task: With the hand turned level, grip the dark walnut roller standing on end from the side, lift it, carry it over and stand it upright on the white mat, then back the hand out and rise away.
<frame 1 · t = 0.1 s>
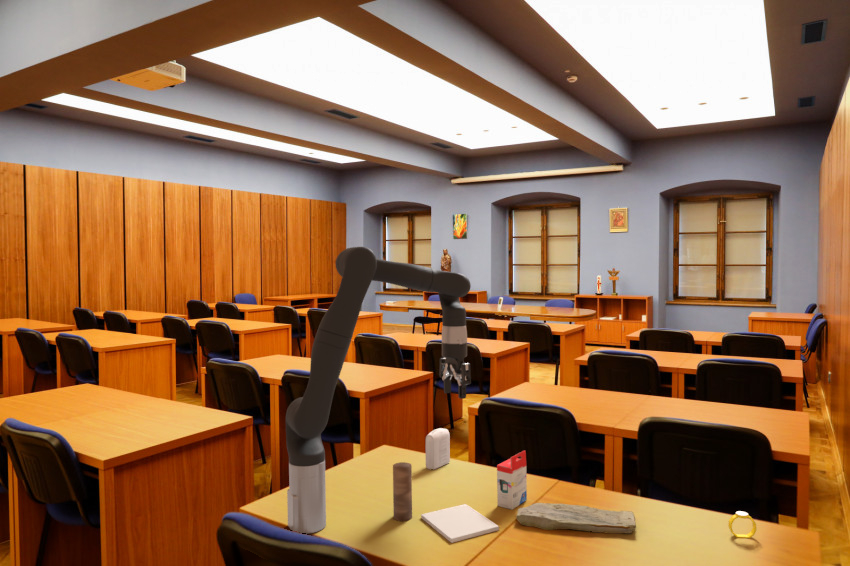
hand: (454, 395, 169), 29 cm above the table, tool pointing down, fingers open, 8 cm apart
gold ring: (742, 537, 141), on the table
stone slab: (575, 524, 150), on the table
roller: (402, 517, 154), on the table
white mat: (459, 523, 149), on the table
white rounded slab: (438, 466, 195), on the table
ink box: (512, 504, 162), on the table
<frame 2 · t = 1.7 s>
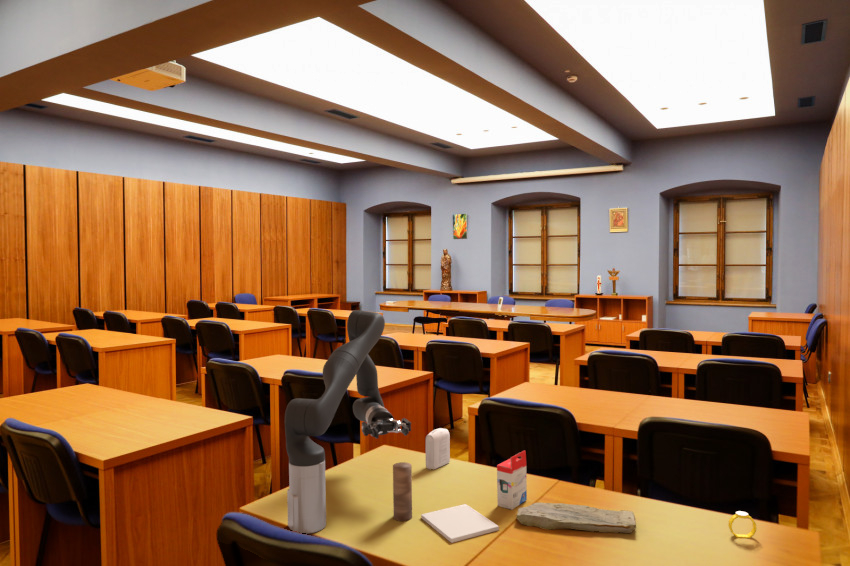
hand: (392, 433, 164), 20 cm above the table, tool horizontal, fingers open, 8 cm apart
nothing on the table moved.
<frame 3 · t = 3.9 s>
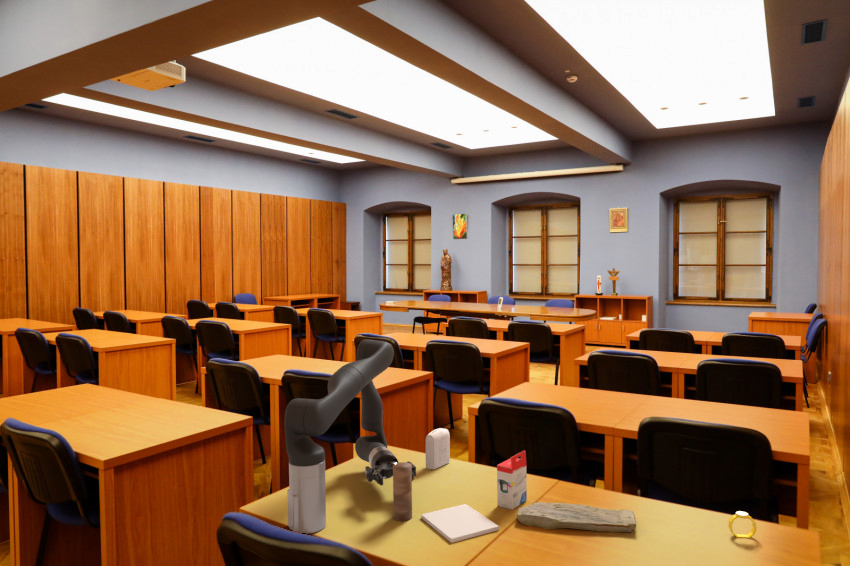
hand: (396, 480, 159), 8 cm above the table, tool horizontal, fingers open, 8 cm apart
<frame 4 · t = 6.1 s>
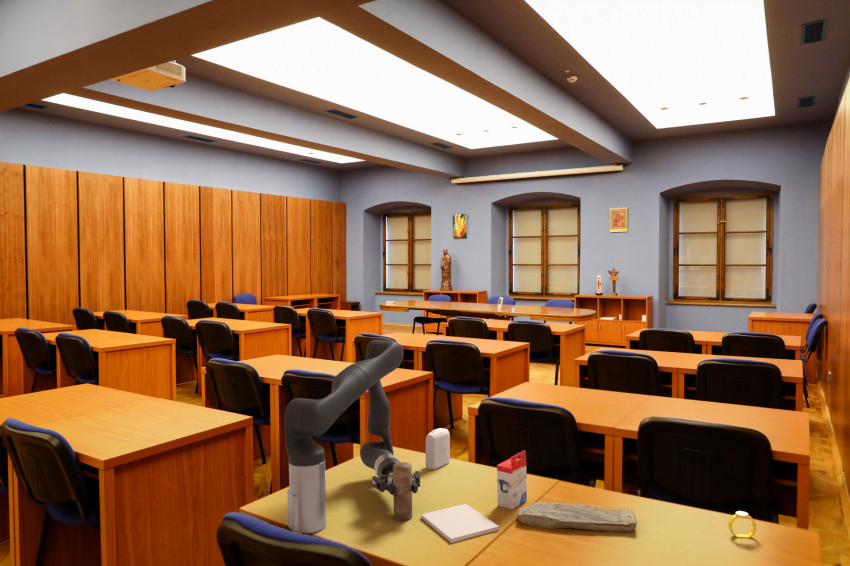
hand: (405, 491, 151), 8 cm above the table, tool horizontal, fingers closed on roller, 5 cm apart
roller: (403, 517, 154), on the table, touching gripper
everything else where it was.
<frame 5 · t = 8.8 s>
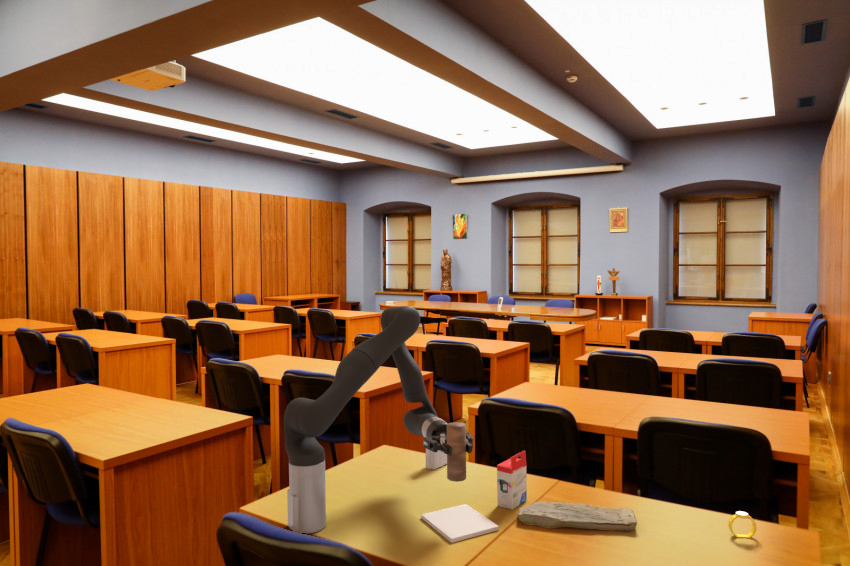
hand: (460, 450, 147), 20 cm above the table, tool horizontal, fingers closed on roller, 5 cm apart
roller: (456, 477, 150), point 12 cm above the table, touching gripper
when the fingers open (10 cm above the table, at t = 11.6 s): roller drops 1 cm, resting on white mat.
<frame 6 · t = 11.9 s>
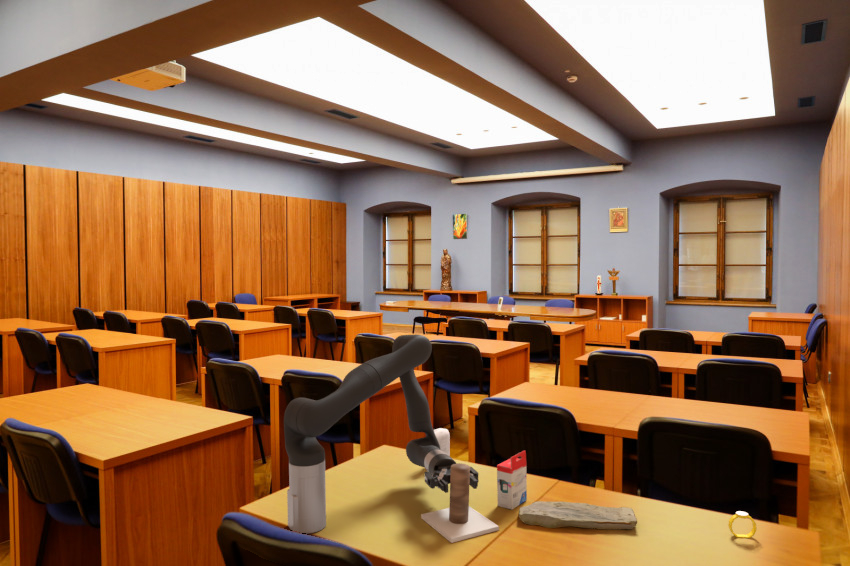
hand: (461, 486, 147), 11 cm above the table, tool horizontal, fingers open, 7 cm apart
roller: (458, 519, 150), point 1 cm above the table, touching white mat
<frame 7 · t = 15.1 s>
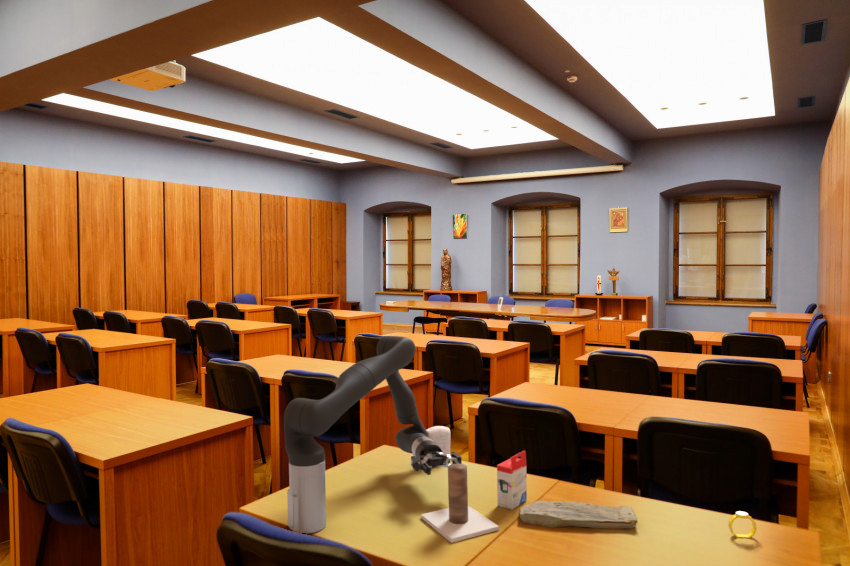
hand: (444, 469, 160), 11 cm above the table, tool horizontal, fingers open, 8 cm apart
white rounded slab: (436, 463, 197), on the table, touching arm
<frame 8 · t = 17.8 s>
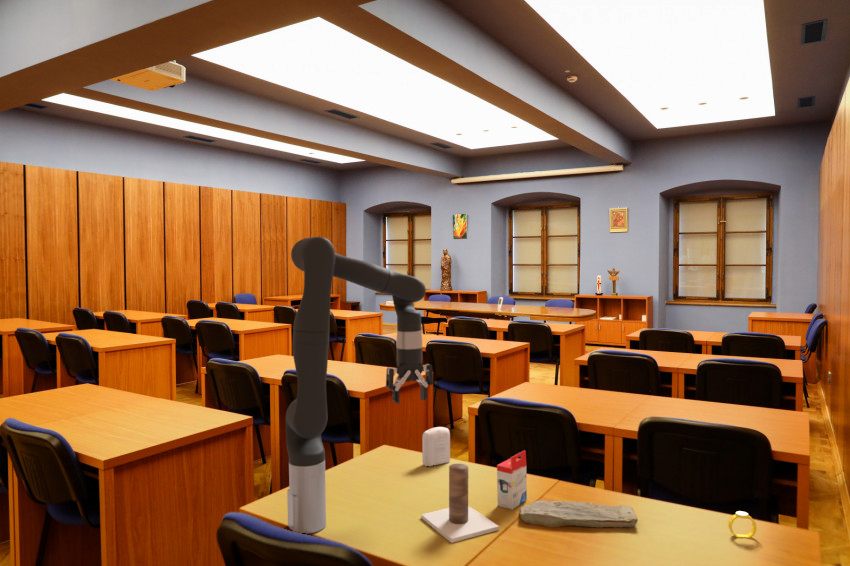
hand: (410, 401, 167), 28 cm above the table, tool pointing down, fingers open, 8 cm apart
white rounded slab: (436, 464, 197), on the table
at the end: roller inside the target area on the white mat (0.1 cm from its centre), point 1.1 cm above the white mat's base; roller tilted 2°; the gripper is holding nothing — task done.
